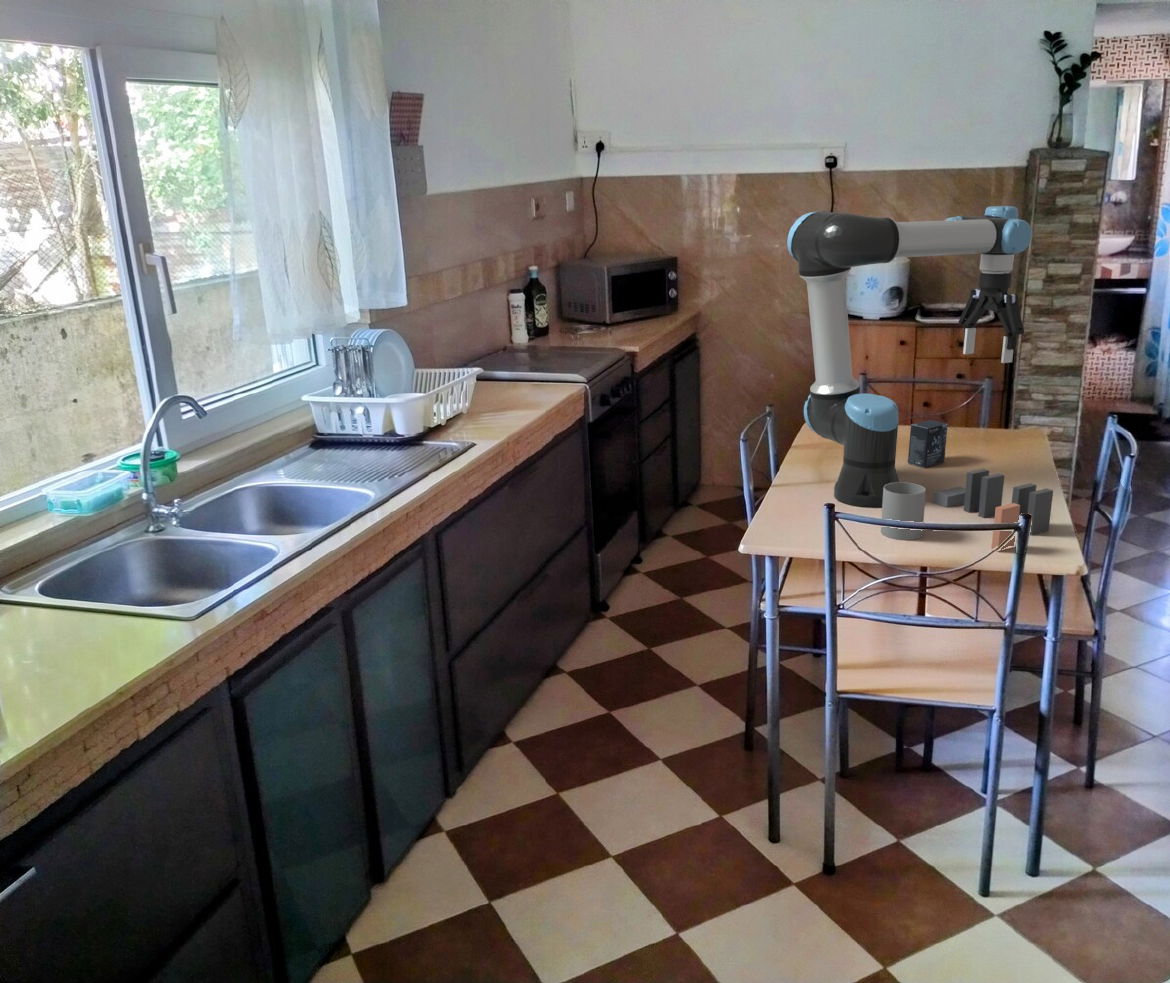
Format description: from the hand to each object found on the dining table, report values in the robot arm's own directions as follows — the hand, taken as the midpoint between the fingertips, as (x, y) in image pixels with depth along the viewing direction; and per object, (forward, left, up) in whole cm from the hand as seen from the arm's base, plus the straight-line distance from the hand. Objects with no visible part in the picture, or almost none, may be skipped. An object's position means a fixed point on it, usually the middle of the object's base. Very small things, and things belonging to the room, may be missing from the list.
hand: (987, 358), depth 252 cm
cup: (-54, -30, -27) cm, 67 cm away
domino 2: (-30, -32, -27) cm, 51 cm away
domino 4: (-30, -40, -27) cm, 57 cm away
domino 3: (-43, -47, -27) cm, 69 cm away
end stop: (-30, -21, -27) cm, 45 cm away
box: (-13, +5, -27) cm, 30 cm away
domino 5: (-30, -44, -27) cm, 60 cm away
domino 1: (-30, -27, -27) cm, 48 cm away
